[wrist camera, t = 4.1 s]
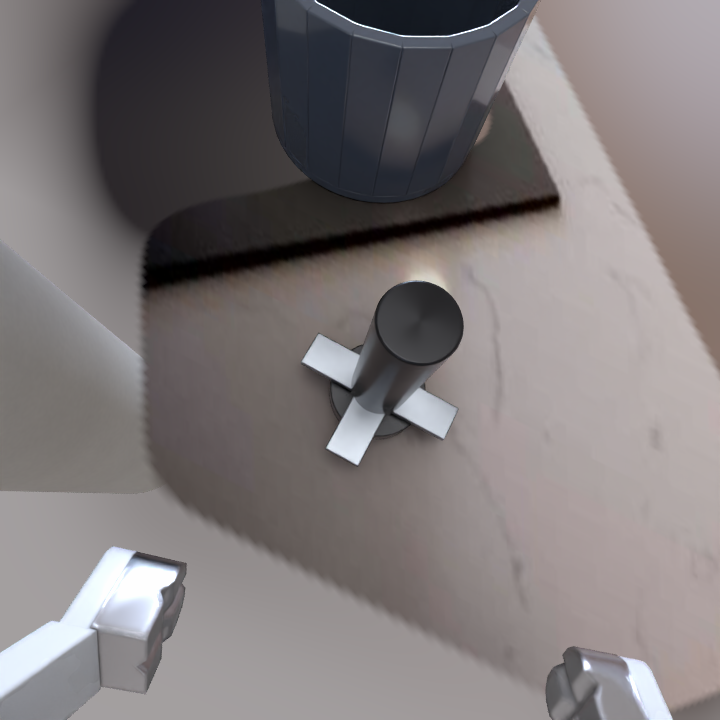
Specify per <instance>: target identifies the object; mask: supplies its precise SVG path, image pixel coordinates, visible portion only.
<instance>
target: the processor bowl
mask: <svg viewBox="0 0 720 720" xmlns="http://www.w3.org/2000/svg"><path fill="white" fill-rule="evenodd" d="M540 2H541V0H261V6H262V16H263V26H264V36H265V47H266V57H267V66H268V77H269V87H270V97H271V107H272V118H273V122H274V126H275V130H276V134H277V136H278V139H279V141H280V143H281V145H282V147H283V149H284V150H285V152H286V154H287V155H288V157H289V158H290V159H291V160H292V161H293V163H294V164H295V165H296V166H297V167H298V168H299V169H300V170H301V171H302V172H303V173H304V174H305V175H306V176H307V177H309V178H310V179H312V180H313V181H314V182H316V183H317V184H319V185H321V186H322V187H324V188H326V189H328V190H330V191H332V192H334V193H337V194H339V195H342V196H345V197H348V198H352V199H355V200H361V201H367V202H379V203H388V202H400V201H405V200H410V199H414V198H417V197H420V196H423V195H425V194H427V193H429V192H431V191H434V190H436V189H437V188H439V187H440V186H442V185H443V184H445V183H446V182H447V181H448V180H449V179H450V178H452V177H453V176H454V175H455V174H456V172H457V171H458V170H459V169H460V168H461V166H462V165H463V163H464V162H465V160H466V158H467V156H468V154H469V152H470V150H471V149H472V147H473V146H474V144H475V142H476V140H477V137H478V135H479V133H480V131H481V129H482V127H483V124H484V122H485V120H486V118H487V116H488V114H489V112H490V109H491V107H492V105H493V103H494V101H495V99H496V96H497V94H498V92H499V90H500V88H501V86H502V84H503V81H504V79H505V77H506V75H507V73H508V71H509V68H510V66H511V64H512V62H513V60H514V58H515V56H516V53H517V51H518V49H519V47H520V45H521V43H522V41H523V38H524V36H525V34H526V32H527V30H528V28H529V25H530V23H531V21H532V19H533V17H534V15H535V13H536V10H537V8H538V6H539V4H540Z"/></svg>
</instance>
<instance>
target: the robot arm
mask: <svg viewBox="0 0 720 720" xmlns="http://www.w3.org/2000/svg"><path fill="white" fill-rule="evenodd" d="M185 575H186V563H184V562H179V561H175V560H171V559H166V558H162V557H158V556H153V555H149V554H145V553H140V552H137V551H133V550H128V549H123V548H119V547H114V546H112V547H111V548H110V549H109V550H108V551H107V552H105V554H104V555H103V556H102V558H101V560H100V561H99V562H98V564H97V566H96V567H95V569H94V570H93V572H92V573H91V575H90V576H89V578H88V579H87V581H86V582H85V584H84V585H83V587H82V588H81V590H80V591H79V593H78V594H77V596H76V597H75V599H74V600H73V602H72V603H71V605H70V606H69V608H68V609H67V611H66V612H65V614H64V615H63V617H62V618H61V620H60V621H59V622H57V621H50V622H48V623H47V624H45V625H43V626H42V627H40V628H39V629H37V630H35V631H34V632H33V633H31V634H29V635H27V636H26V637H24V638H23V639H21V640H20V641H18V642H16V643H15V644H13V645H12V646H10V647H9V648H7V649H5V650H4V651H2V652H1V653H0V720H67V719H68V718H69V717H70V716H71V715H72V714H74V713H75V712H76V711H77V710H78V709H79V708H80V707H81V706H83V705H84V704H85V703H86V702H87V701H88V700H89V699H90V698H92V697H93V696H94V695H95V694H96V693H97V692H98V691H99V690H100V686H101V687H107V688H113V689H119V690H124V691H130V692H136V693H141V694H146V692H147V690H148V688H149V685H150V683H151V681H152V678H153V676H154V674H155V672H156V670H157V667H158V665H159V663H160V660H161V655H162V643H163V642H164V641H165V640H166V639H168V638H169V637H170V636H171V635H172V633H173V630H174V628H175V625H176V623H177V620H178V618H179V614H180V611H181V608H182V604H183V600H184V595H185V587H184V586H183V584H182V582H183V580H184V577H185ZM563 659H564V663H562V664H560V665H557V666H555V667H553V669H552V670H551V672H550V673H549V675H548V677H547V683H546V703H547V707H548V711H549V716H550V717H551V719H552V720H673V719H672V717H671V714H670V712H669V710H668V708H667V705H666V703H665V701H664V699H663V696H662V694H661V692H660V689H659V687H658V685H657V683H656V680H655V678H654V676H653V674H652V671H651V669H650V668H649V667H648V665H647V664H646V663H645V662H643V661H640V660H636V659H631V658H626V657H621V656H618V655H615V654H610V653H605V652H600V651H595V650H590V649H585V648H580V647H575V646H573V647H569V648H567V650H566V651H565V652H564V653H563Z"/></svg>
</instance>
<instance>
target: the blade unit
mask: <svg viewBox="0 0 720 720" xmlns="http://www.w3.org/2000/svg"><path fill="white" fill-rule="evenodd" d="M463 329H464V323H463V317H462V313H461V310H460V308H459V306H458V304H457V303H456V301H455V300H454V299H453V297H452V296H451V295H450V294H449V293H448V292H446V291H445V290H444V289H442V288H441V287H439V286H437V285H435V284H432V283H429V282H425V281H408V282H404V283H401V284H398V285H396V286H394V287H393V288H391V289H390V290H388V291H387V292H386V293H385V294H384V295H383V297H382V298H381V300H380V301H379V303H378V305H377V308H376V311H375V313H374V316H373V319H372V322H371V325H370V328H369V331H368V333H367V336H366V339H365V342H364V344H363V345H360V346H358V347H356V348H354V349H352V350H350V349H348V348H346V347H344V346H342V345H340V344H339V343H337V342H335V341H333V340H331V339H329V338H327V337H326V336H324V335H322V334H320V333H318V334H317V336H316V337H315V339H314V341H313V342H312V344H311V346H310V347H309V349H308V351H307V352H306V354H305V356H304V357H303V359H302V361H301V364H302V365H304V366H306V367H308V368H309V369H311V370H313V371H315V372H317V373H319V374H320V375H322V376H324V377H326V378H328V379H330V380H331V383H330V391H329V396H330V403H331V407H332V409H333V412H334V414H335V416H336V417H337V419H338V420H339V424H338V426H337V428H336V429H335V431H334V433H333V435H332V437H331V439H330V440H329V442H328V444H327V446H326V448H325V449H326V450H328V451H329V452H331V453H333V454H335V455H337V456H338V457H340V458H342V459H344V460H346V461H347V462H349V463H351V464H353V465H355V466H359V464H360V462H361V460H362V458H363V456H364V454H365V452H366V450H367V449H368V447H369V445H370V443H371V441H372V439H385V438H389V437H392V436H394V435H396V434H398V433H400V432H402V431H403V430H404V429H406V428H407V427H408V426H410V425H411V424H412V425H414V426H416V427H418V428H419V429H421V430H423V431H425V432H427V433H429V434H430V435H432V436H434V437H436V438H438V439H440V440H444V439H445V437H446V435H447V433H448V431H449V429H450V427H451V424H452V422H453V420H454V418H455V416H456V414H457V412H458V410H459V409H458V408H457V407H455V406H453V405H451V404H450V403H448V402H446V401H444V400H442V399H440V398H438V397H437V396H435V395H433V394H431V393H429V392H427V391H426V390H425V381H426V380H427V379H428V378H429V377H430V376H431V375H432V374H433V373H434V372H435V371H436V370H437V369H438V368H439V367H440V366H441V365H442V364H443V363H444V362H445V361H446V360H447V359H448V358H449V357H450V356H451V355H452V354H453V353H454V352H455V350H456V349H457V348H458V346H459V344H460V342H461V339H462V336H463Z"/></svg>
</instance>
